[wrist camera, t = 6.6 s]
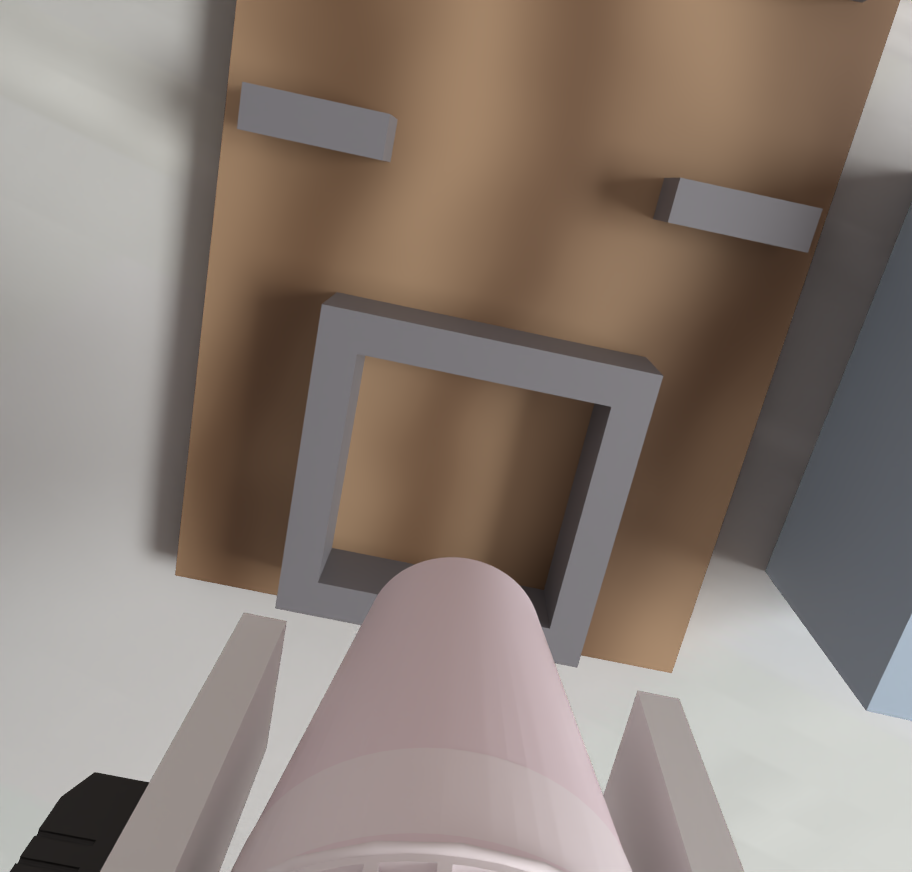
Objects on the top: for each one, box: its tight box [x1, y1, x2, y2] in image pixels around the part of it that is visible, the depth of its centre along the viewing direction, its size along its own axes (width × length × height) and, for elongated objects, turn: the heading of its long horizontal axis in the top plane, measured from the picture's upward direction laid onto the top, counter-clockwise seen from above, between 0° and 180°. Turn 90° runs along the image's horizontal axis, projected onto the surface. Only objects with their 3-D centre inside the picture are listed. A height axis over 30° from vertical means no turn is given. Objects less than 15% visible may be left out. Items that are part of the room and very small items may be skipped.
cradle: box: [275, 292, 663, 667], centre depth 25 cm, size 10×10×2 cm
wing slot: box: [237, 0, 866, 253], centre depth 21 cm, size 16×8×2 cm, turn 78°
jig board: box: [175, 0, 900, 673], centre depth 25 cm, size 18×28×1 cm, turn 168°
